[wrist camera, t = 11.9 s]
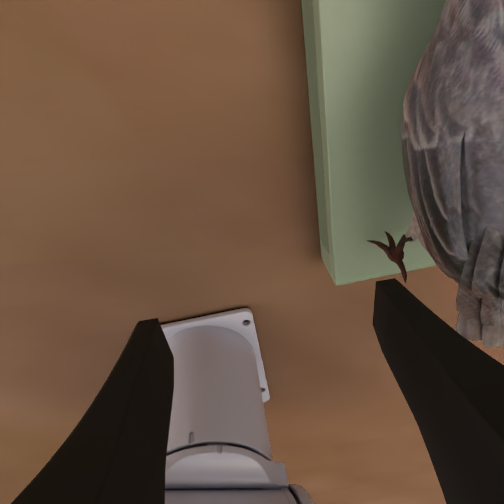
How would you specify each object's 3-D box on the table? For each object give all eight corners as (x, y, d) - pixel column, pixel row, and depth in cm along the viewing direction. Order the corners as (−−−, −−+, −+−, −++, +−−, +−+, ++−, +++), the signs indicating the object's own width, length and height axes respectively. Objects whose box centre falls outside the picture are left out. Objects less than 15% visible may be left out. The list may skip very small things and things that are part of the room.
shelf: (474, 227, 25) (505, 252, 22) (321, 258, 25) (335, 286, 22) (545, -205, 15) (617, -250, 12) (288, -157, 15) (307, -193, 12)
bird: (557, -167, 13) (893, -332, 7) (456, 242, 22) (564, 338, 15) (402, -159, 13) (605, -325, 6) (362, 254, 21) (432, 357, 15)
